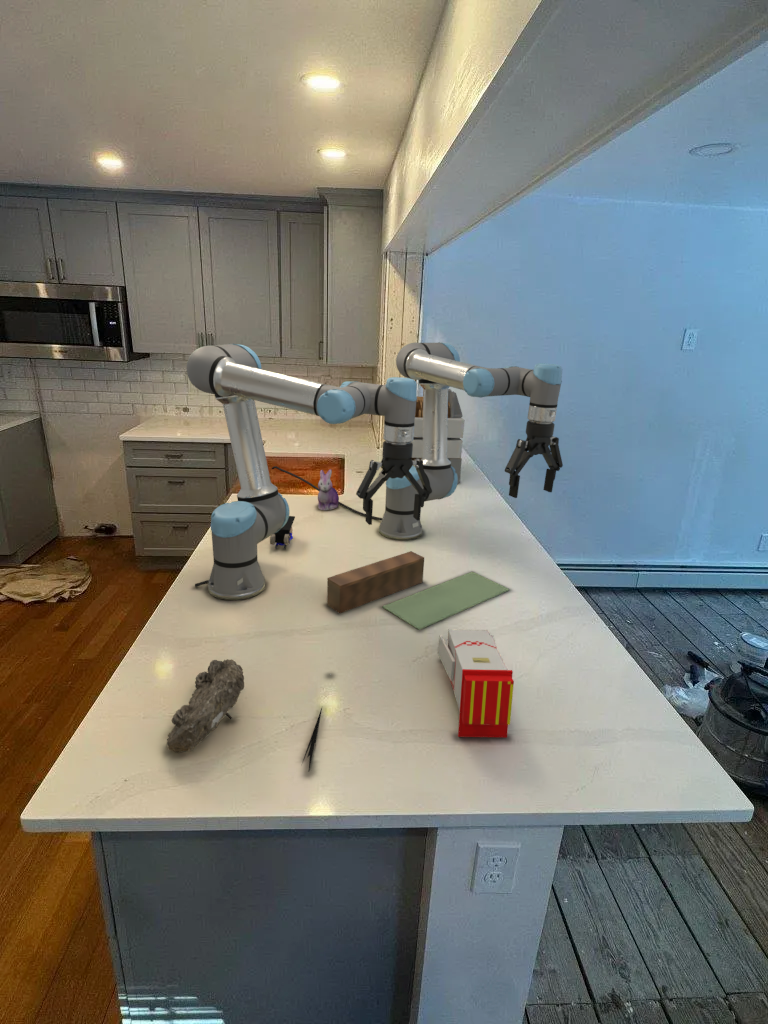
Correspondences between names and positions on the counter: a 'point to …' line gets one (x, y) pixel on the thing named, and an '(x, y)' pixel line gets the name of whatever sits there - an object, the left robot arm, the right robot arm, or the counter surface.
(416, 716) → the counter surface
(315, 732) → the feather
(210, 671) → the fossil
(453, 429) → the grey slatted box
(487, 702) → the toy
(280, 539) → the figurine character
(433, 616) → the mat
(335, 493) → the figurine
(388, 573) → the walnut box
